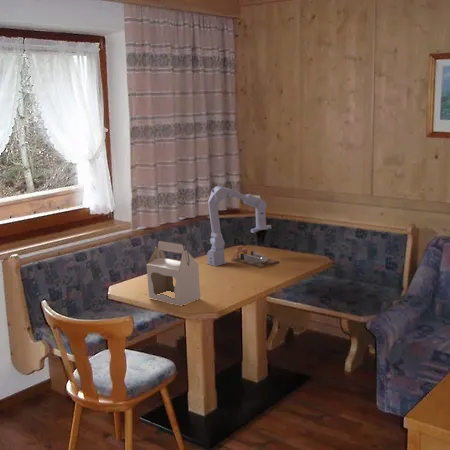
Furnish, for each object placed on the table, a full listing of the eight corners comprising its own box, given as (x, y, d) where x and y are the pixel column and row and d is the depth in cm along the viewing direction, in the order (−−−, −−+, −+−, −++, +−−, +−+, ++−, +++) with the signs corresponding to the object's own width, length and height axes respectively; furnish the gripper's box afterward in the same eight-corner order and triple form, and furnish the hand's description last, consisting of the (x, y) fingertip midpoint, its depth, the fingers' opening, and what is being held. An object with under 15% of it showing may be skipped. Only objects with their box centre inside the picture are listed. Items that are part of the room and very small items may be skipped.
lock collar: (247, 256, 380) (246, 245, 378) (237, 259, 375) (236, 248, 373) (243, 255, 382) (243, 244, 381) (233, 258, 377) (233, 247, 376)
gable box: (201, 299, 310) (197, 242, 304) (182, 307, 300) (178, 248, 295) (167, 291, 324) (163, 237, 319) (148, 299, 314) (144, 242, 309)
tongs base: (269, 263, 363) (268, 257, 363) (263, 264, 361) (263, 258, 360) (246, 257, 378) (245, 251, 377) (240, 259, 375) (240, 253, 374)
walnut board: (279, 262, 367) (279, 261, 367) (261, 268, 358) (261, 266, 358) (249, 255, 386) (249, 254, 386) (231, 260, 377) (231, 258, 377)
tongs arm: (265, 261, 367) (265, 256, 366) (262, 261, 366) (262, 256, 366) (253, 256, 380) (253, 251, 379) (251, 256, 379) (250, 251, 378)
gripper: (256, 222, 368) (257, 246, 370) (274, 218, 377) (275, 241, 380) (247, 221, 373) (248, 244, 376) (266, 217, 382) (267, 239, 385)
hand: (261, 242), depth 378 cm, fingers closed
